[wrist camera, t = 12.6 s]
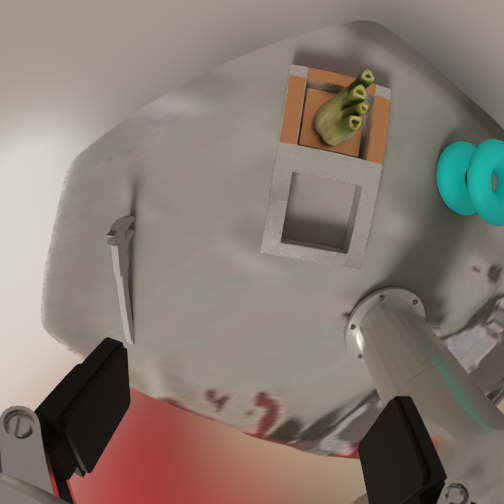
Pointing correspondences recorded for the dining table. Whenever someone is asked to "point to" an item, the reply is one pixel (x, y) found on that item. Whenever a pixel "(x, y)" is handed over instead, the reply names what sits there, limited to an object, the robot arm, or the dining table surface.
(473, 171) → the donuts
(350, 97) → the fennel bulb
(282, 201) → the orange and grey tray
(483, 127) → the dining table surface
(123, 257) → the caliper
